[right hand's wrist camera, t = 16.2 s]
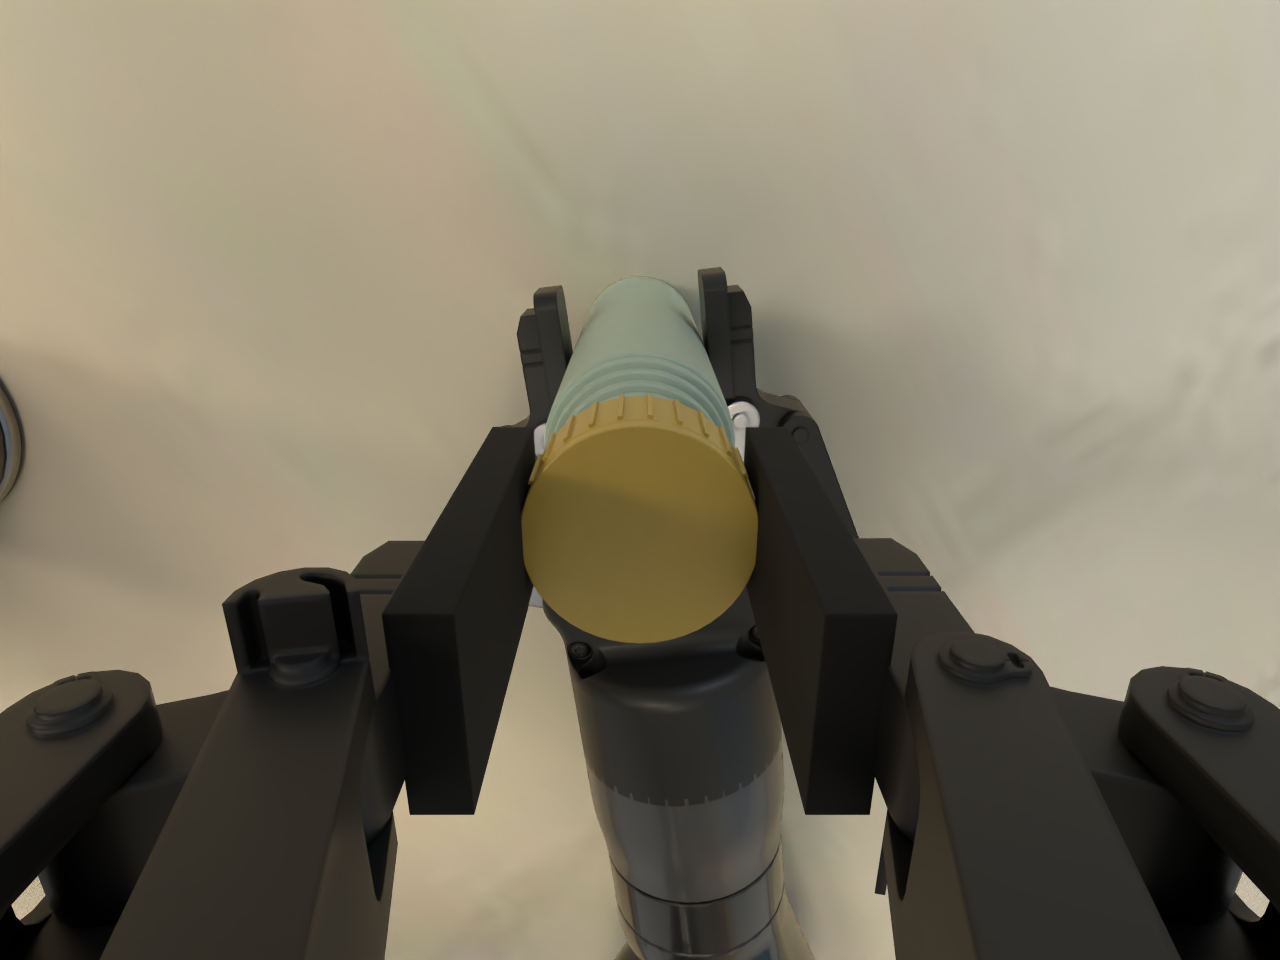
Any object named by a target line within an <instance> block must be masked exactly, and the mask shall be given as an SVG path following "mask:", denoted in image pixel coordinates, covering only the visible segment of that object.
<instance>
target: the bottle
mask: <svg viewBox="0 0 1280 960" xmlns="http://www.w3.org/2000/svg"><path fill="white" fill-rule="evenodd" d="M648 393H649V394H652V397H658V398H663V399H668V400H671V401H674V399H678V400H679V402H680V403H681V404H683V405H685V406H687V407H690V408H692V409H694V410H696V411H697V412H699V410H701V411H703V412H704V415H705V417H706V418H708V419H709V420H710V421H711V422H712V423H714V424H715V425H716V426H717V427H718V428H720V427H722V428H723V429H724V431H725V434H726V437H727V438H728V440H729V441H730V443H731V444H732V446H733V447H734V448H735V434H734V427H733V422H732V418H731V415H730V412H729V409H728V407H727V404H726V401H725V399H724V396H723V394H722V391H721V389H720V386H719V383H718V381H717V378H716V376H715V373H714V371H713V368H712V365H711V363H710V360H709V358H708V355H707V353H706V350H705V347H704V345H703V342H702V340H701V337H700V335H699V332H698V329H697V327H696V324H695V322H694V319H693V317H692V314H691V311H690V309H689V307H688V305H687V303H686V302H685V300H684V299H683V297H682V296H681V295H680V294H679V293H678V292H677V291H676V290H675V289H674V288H672V287H671V286H670V285H668V284H666V283H664V282H663V281H660V280H657V279H655V278H650V277H642V276H639V277H630V278H625V279H622V280H619V281H617V282H615V283H613V284H611V285H610V286H608V287H607V288H606V289H605V290H604V291H602V292H601V293H600V295H599V296H598V297H597V298H596V300H595V301H594V303H593V304H592V306H591V308H590V310H589V313H588V316H587V318H586V321H585V323H584V326H583V328H582V331H581V334H580V336H579V339H578V341H577V344H576V346H575V349H574V352H573V354H572V357H571V359H570V362H569V364H568V367H567V369H566V372H565V375H564V377H563V380H562V382H561V385H560V387H559V390H558V393H557V395H556V398H555V400H554V403H553V405H552V408H551V411H550V414H549V417H548V420H547V425H546V430H545V448H546V447H547V444H548V441H549V438H550V435H551V434H552V433H553V432H554V433H555V434H556V433H557V432H558V431H559V430H560V428H561V427H563V426H564V425H565V424H566V423H567V422H568V420H569V417H570V416H571V415H572V414H573V415H574V416H576V415H578V414H579V413H581V412H582V411H584V410H586V409H588V408H590V407H592V405H593V403H594V402H596V401H597V402H598V404H599V403H602V402H605V401H608V400H611V399H616V398H619V395H622V394H624V397H630V396H647V394H648Z"/></svg>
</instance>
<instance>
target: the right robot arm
mask: <svg viewBox="0 0 1280 960" xmlns="http://www.w3.org/2000/svg"><path fill="white" fill-rule="evenodd" d="M535 462H536V460H535V441H534V427H493V428H492V429H491V431H490V433H489V434H488V436H487V438H486V439H485V441H484V443H483V444H482V446H481V448H480V450H479V451H478V453H477V455H476V456H475V458H474V460H473V461H472V463H471V465H470V466H469V468H468V470H467V471H466V473H465V475H464V476H463V478H462V480H461V482H460V483H459V485H458V487H457V488H456V490H455V492H454V493H453V495H452V497H451V498H450V500H449V502H448V503H447V505H446V507H445V508H444V510H443V512H442V514H441V515H440V517H439V519H438V520H437V522H436V524H435V525H434V527H433V529H432V530H431V532H430V534H429V535H428V537H427V539H426V540H425V541H388V542H386V543H385V544H383V545H381V546H380V547H378V548H377V549H375V550H373V551H372V552H370V553H369V554H367V555H365V556H364V557H363V558H362V559H361V561H360V562H359V563H358V565H357V566H356V568H355V569H354V570H353V572H352V573H351V574H349V573H347V572H345V571H341V570H336V569H332V568H300V569H294V570H288V571H282V572H277V573H274V574H271V575H268V576H265V577H262V578H259V579H256V580H254V581H252V582H250V583H248V584H247V585H245V586H243V587H241V588H239V589H238V590H236V591H234V592H233V593H232V594H231V595H230V596H229V597H228V598H227V599H226V600H225V601H224V602H223V603H222V606H223V610H224V615H225V619H226V624H227V628H228V632H229V637H230V641H231V645H232V650H233V654H234V659H235V663H236V667H237V672H238V673H237V675H236V677H235V679H234V681H233V683H232V686H231V688H230V690H227V691H223V692H220V693H216V694H212V695H207V696H201V697H196V698H191V699H186V700H181V701H175V702H170V703H165V704H160V705H156V703H155V700H154V696H153V692H152V689H151V685H150V682H149V681H147V680H146V679H145V678H144V677H142V676H141V675H140V674H139V673H133V672H128V671H122V670H111V671H100V672H87V673H82V674H78V676H74V675H73V676H70V677H66V678H63V679H60V680H58V681H56V682H54V683H53V684H51V685H49V686H46V687H44V688H42V689H39V690H37V691H34V692H32V693H31V694H29V695H27V696H26V697H24V698H23V699H21V700H20V701H18V702H16V703H15V704H13V705H12V706H10V707H9V708H7V709H6V710H4V711H3V712H2V713H1V714H0V960H384V958H385V949H386V940H387V932H388V923H389V914H390V906H391V897H392V889H393V880H394V871H395V863H396V854H397V845H398V842H397V836H396V829H395V823H394V816H393V808H394V806H395V803H396V801H397V798H398V795H399V793H400V790H401V788H402V785H403V783H404V780H405V783H406V790H407V797H408V804H409V812H410V815H474V813H475V809H476V805H477V802H478V798H479V794H480V790H481V786H482V782H483V778H484V775H485V771H486V767H487V763H488V759H489V755H490V752H491V748H492V744H493V740H494V736H495V732H496V729H497V725H498V721H499V717H500V713H501V709H502V706H503V702H504V698H505V694H506V690H507V686H508V683H509V679H510V675H511V671H512V667H513V663H514V659H515V656H516V652H517V648H518V644H519V640H520V636H521V633H522V629H523V625H524V621H525V617H526V613H527V610H528V606H529V602H530V598H531V594H532V590H533V587H534V585H533V584H532V582H531V580H530V578H529V575H528V573H527V571H526V569H525V566H524V557H523V541H522V524H521V513H522V509H523V506H524V503H525V499H526V497H527V494H528V491H529V488H530V485H529V484H528V481H529V478H530V475H531V473H532V470H533V467H534V465H535ZM744 466H745V468H746V471H747V474H748V479H749V482H750V485H751V488H752V490H753V493H754V496H755V504H756V508H757V511H758V532H757V549H756V563H755V568H754V570H753V572H752V574H751V577H750V579H749V581H748V583H747V584H746V588H747V592H748V596H749V600H750V604H751V608H752V611H753V615H754V619H755V623H756V627H757V631H758V634H759V638H760V642H761V646H762V650H763V654H764V658H765V661H766V665H767V669H768V673H769V677H770V681H771V684H772V688H773V692H774V696H775V700H776V704H777V707H778V711H779V715H780V719H781V723H782V727H783V730H784V734H785V738H786V742H787V746H788V750H789V754H790V757H791V761H792V765H793V769H794V773H795V777H796V780H797V784H798V788H799V792H800V796H801V800H802V803H803V807H804V811H805V815H870V808H871V801H872V794H873V787H874V780H875V778H876V780H877V783H878V785H879V788H880V790H881V793H882V795H883V798H884V800H885V803H886V806H887V808H888V809H887V816H886V823H885V829H884V836H883V842H882V849H881V855H880V862H879V869H878V875H877V882H876V888H875V893H876V894H882V895H885V892H886V886H887V887H888V895H889V904H890V913H891V921H892V930H893V938H894V947H895V956H896V960H1280V709H1278V708H1277V707H1276V706H1275V705H1273V704H1272V703H1270V702H1269V701H1267V700H1265V699H1264V698H1262V697H1261V696H1259V695H1257V694H1256V693H1254V692H1253V691H1251V690H1250V689H1248V688H1245V687H1243V686H1241V685H1238V684H1236V683H1234V682H1231V681H1229V680H1227V679H1226V678H1224V677H1222V676H1220V675H1216V674H1213V673H1210V672H1206V673H1204V672H1203V671H1202V670H1197V669H1191V668H1176V667H1164V666H1161V667H1155V668H1149V669H1144V670H1141V671H1140V672H1138V673H1137V674H1136V675H1135V676H1133V677H1132V678H1131V679H1130V683H1129V687H1128V690H1127V694H1126V697H1125V701H1124V702H1122V701H1117V700H1112V699H1107V698H1101V697H1096V696H1091V695H1086V694H1080V693H1075V692H1070V691H1066V690H1062V689H1058V688H1054V687H1050V686H1049V684H1048V682H1047V680H1046V678H1045V676H1044V674H1043V672H1042V671H1041V669H1040V668H1039V667H1038V666H1037V664H1036V663H1035V662H1034V661H1033V660H1032V658H1031V657H1029V656H1028V655H1026V654H1025V653H1023V652H1022V651H1020V650H1019V649H1017V648H1016V647H1014V646H1013V645H1010V644H1008V643H1005V642H1003V641H1000V640H998V639H995V638H993V637H990V636H986V635H981V634H976V633H974V631H973V630H972V629H971V627H970V626H969V625H968V623H967V622H966V621H965V619H964V618H963V617H962V615H961V614H960V612H959V611H958V610H957V608H956V607H955V606H954V604H953V603H952V602H951V600H950V599H949V598H948V596H947V595H946V594H945V592H944V591H941V587H940V585H939V584H938V583H937V581H936V580H935V579H934V577H933V576H930V572H929V571H928V569H927V568H926V566H925V565H924V564H923V562H922V561H921V560H920V558H919V557H918V556H917V554H915V553H914V552H912V551H911V550H909V549H907V548H906V547H904V546H902V545H901V544H899V543H898V542H896V541H894V540H893V539H891V538H852V536H851V535H850V533H849V531H848V530H847V528H846V526H845V525H844V523H843V521H842V519H841V518H840V516H839V514H838V513H837V511H836V509H835V508H834V506H833V504H832V503H831V501H830V499H829V498H828V496H827V494H826V493H825V491H824V489H823V487H822V486H821V484H820V482H819V481H818V479H817V477H816V476H815V474H814V472H813V471H812V469H811V467H810V466H809V464H808V462H807V460H806V459H805V457H804V455H803V454H802V452H801V450H800V449H799V447H798V445H797V444H796V442H795V440H794V439H793V437H792V435H791V434H790V432H789V430H788V428H787V427H746V431H745V450H744ZM1242 872H1244V873H1245V874H1246V875H1247V876H1248V878H1249V879H1250V880H1251V881H1252V882H1253V883H1254V884H1255V885H1256V886H1257V887H1258V888H1259V889H1260V891H1261V892H1262V893H1263V894H1264V895H1265V896H1266V897H1267V898H1268V899H1269V900H1270V902H1269V904H1268V907H1267V909H1266V911H1265V914H1264V915H1263V916H1262V917H1259V916H1257V915H1256V914H1255V913H1254V912H1253V911H1252V910H1251V909H1249V908H1248V907H1247V906H1246V904H1245V903H1244V902H1243V901H1242V900H1241V899H1240V898H1239V897H1238V895H1237V894H1236V893H1235V890H1236V888H1237V885H1238V883H1239V880H1240V877H1241V875H1242ZM37 876H38V877H39V879H40V882H41V884H42V887H43V890H44V892H45V895H46V896H45V897H44V898H43V899H42V900H41V902H40V903H39V904H38V905H37V906H36V907H35V908H34V910H33V911H31V912H30V913H29V914H28V915H26V916H25V917H24V918H23V919H21V920H19V919H18V918H17V917H16V916H15V913H14V911H13V908H12V906H11V904H12V903H13V902H14V901H15V900H16V899H17V898H18V897H19V896H20V895H21V894H22V892H23V891H24V890H25V889H26V888H27V887H28V886H29V885H30V884H31V883H32V882H33V880H34V879H35V878H36V877H37Z"/></svg>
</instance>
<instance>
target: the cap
mask: <svg viewBox="0 0 1280 960" xmlns="http://www.w3.org/2000/svg"><path fill="white" fill-rule="evenodd" d="M528 484H529V485H530V488H529V491H528V494H527V497H526V499H525V503H524V506H523V509H522V513H521V524H522V541H523V557H524V566H525V569H526V571H527V573H528V575H529V578H530V580H531V582H532V584H533V585H534V587H535V588H536V590H537V592H538V593H539V595H540V596H541V597H542V598H543V599H544V601H545V602H546V603H547V604H548V605H549V606H550V607H551V608H552V609H553V610H554V611H555V612H556V613H557V614H558V615H559V616H561V617H562V618H564V619H565V620H566V621H568V622H569V623H570V624H572V625H574V626H576V627H578V628H579V629H581V630H583V631H585V632H588V633H590V634H593V635H595V636H598V637H601V638H605V639H608V640H613V641H619V642H625V643H655V642H661V641H667V640H671V639H675V638H678V637H682V636H685V635H687V634H689V633H692V632H694V631H696V630H698V629H700V628H702V627H704V626H705V625H707V624H709V623H711V622H712V621H713V620H715V619H716V618H717V617H719V616H720V615H721V614H722V613H724V612H725V611H726V610H727V609H728V608H729V607H730V606H731V605H732V604H733V603H734V601H735V600H736V599H737V598H738V596H739V595H740V594H741V593H742V591H743V589H744V588H745V586H746V584H747V583H748V581H749V579H750V577H751V574H752V572H753V570H754V568H755V563H756V549H757V532H758V511H757V508H756V504H755V496H754V493H753V490H752V488H751V485H750V482H749V479H748V474H747V471H746V468H745V466H744V463H743V460H742V457H741V455H740V452H739V450H738V448H737V447H736V448H734V447H733V446H732V444H731V443H730V441H729V440H728V438H727V437H726V434H725V431H724V429H723V428H722V427H720V428H718V427H717V426H716V425H715V424H714V423H712V422H711V421H710V420H709V419H708V418H706V417H705V415H704V412H703V411H701V410H699V412H697V411H696V410H694V409H692V408H690V407H687V406H685V405H683V404H681V403H680V402H679V400H678V399H674V401H671V400H668V399H663V398H658V397H652V394H649V393H648V394H647V396H630V397H624V394H622V395H619V398H616V399H611V400H608V401H605V402H602V403H599V404H598V402H597V401H596V402H594V403H593V405H592V407H590V408H588V409H586V410H584V411H582V412H581V413H579V414H578V415H576V416H574V415H573V414H572V415H571V416H570V417H569V420H568V422H567V423H566V424H565V425H564V426H563V427H561V428H560V430H559V431H558V432H557V433H556V434H555V433H554V432H553V433H552V434H551V435H550V438H549V441H548V444H547V447H546V448H545V450H544V452H543V454H542V455H541V454H538V457H537V459H536V462H535V465H534V467H533V470H532V473H531V475H530V478H529V481H528Z"/></svg>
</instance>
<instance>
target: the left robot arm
mask: <svg viewBox="0 0 1280 960" xmlns="http://www.w3.org/2000/svg"><path fill="white" fill-rule="evenodd" d="M698 284H699V296H700V308H701V320H702V332H703V343H704V347H705V350H706V353H707V355H708V358H709V360H710V363H711V365H712V368H713V371H714V373H715V376H716V378H717V381H718V383H719V386H720V389H721V391H722V394H723V396H724V399H725V401H726V404H727V407H728V409H729V412H730V415H731V418H732V422H733V427H734V434H735V448H736V447H737V448H738V450H739V452H740V455H741V457H742V460H743V463H744V450H745V431H746V427H787V428H788V430H789V432H790V434H791V435H792V437H793V439H794V440H795V442H796V444H797V445H798V447H799V449H800V450H801V452H802V454H803V455H804V457H805V459H806V460H807V462H808V464H809V466H810V467H811V469H812V471H813V472H814V474H815V476H816V477H817V479H818V481H819V482H820V484H821V486H822V487H823V489H824V491H825V493H826V494H827V496H828V498H829V499H830V501H831V503H832V504H833V506H834V508H835V509H836V511H837V513H838V514H839V516H840V518H841V519H842V521H843V523H844V525H845V526H846V528H847V530H848V531H849V533H850V535H851V536H852V538H859V537H858V535H857V532H856V529H855V526H854V524H853V521H852V518H851V515H850V513H849V510H848V507H847V505H846V502H845V499H844V496H843V494H842V491H841V488H840V485H839V483H838V480H837V477H836V474H835V472H834V469H833V466H832V463H831V461H830V458H829V455H828V452H827V450H826V447H825V444H824V441H823V439H822V436H821V433H820V431H819V428H818V426H817V424H816V422H815V421H814V420H813V418H812V417H811V415H810V414H809V413H808V411H807V410H806V408H805V407H804V406H803V404H802V403H801V402H800V400H798V399H797V398H796V397H793V396H790V395H785V396H781V397H780V396H776V395H772V394H767V393H764V392H762V391H760V390H759V389H757V388H756V379H755V363H754V346H753V330H752V313H751V306H750V304H749V302H748V300H747V298H746V296H745V293H744V291H743V290H742V289H741V288H740V287H739V286H738V285H732V286H727V281H726V275H725V272H724V271H723V270H722V268H721V267H718V268H709V269H701V270H698ZM517 338H518V343H519V349H520V353H521V361H522V365H523V372H524V378H525V383H526V389H527V395H528V401H529V406H530V416H529V417H528V418H526V419H525V420H523V421H521V422H519V423H517V424H515V425H513V426H510V425H507V426H502V427H534V441H535V460H536V459H537V457H538V454H541V455H542V454H543V452H544V450H545V430H546V425H547V420H548V417H549V414H550V411H551V408H552V405H553V403H554V400H555V398H556V395H557V393H558V390H559V387H560V385H561V382H562V380H563V377H564V375H565V372H566V369H567V367H568V364H569V362H570V359H571V357H572V354H573V350H572V344H571V337H570V330H569V324H568V317H567V310H566V304H565V297H564V292H563V288H562V286H552V287H544V288H539V289H538V290H537V291H536V292H535V293H534V308H532V309H527V310H526V311H525V312H524V313H523V314H522V315H521V317H520V321H519V326H518V331H517ZM20 459H21V442H20V434H19V429H18V425H17V421H16V418H15V415H14V412H13V410H12V407H11V405H10V403H9V401H8V399H7V397H6V395H5V393H4V391H3V390H2V388H1V386H0V502H1V501H2V500H3V498H4V497H5V496H6V495H7V494H8V492H9V491H10V489H11V487H12V486H13V484H14V481H15V479H16V477H17V473H18V470H19V465H20ZM529 606H534V607H541V608H543V609H544V612H545V615H546V617H547V618H548V620H549V621H550V622H551V623H552V624H553V625H554V626H555V628H556V629H557V630H558V631H559V633H560V635H561V636H562V638H563V641H564V644H565V648H566V653H567V659H568V664H569V670H570V675H571V681H572V686H573V692H574V697H575V703H576V709H577V714H578V720H579V726H580V732H581V738H582V743H583V749H584V755H585V760H586V766H587V772H588V777H589V783H590V788H591V794H592V799H593V804H594V808H595V812H596V815H597V818H598V821H599V824H600V827H601V830H602V832H603V835H604V838H605V840H606V844H607V848H608V851H609V857H610V863H611V868H612V874H613V880H614V886H615V892H616V900H617V906H618V911H619V916H620V920H621V924H622V927H623V930H624V933H625V936H626V939H627V942H626V943H625V944H624V945H623V947H622V948H621V950H620V951H619V953H618V954H617V956H616V958H615V960H815V959H814V956H813V954H812V952H811V950H810V948H809V946H808V943H807V941H806V939H805V937H804V935H803V933H802V931H801V928H800V926H799V924H798V922H797V919H796V917H795V915H794V912H793V909H792V907H791V905H790V902H789V900H788V897H787V895H786V893H785V888H784V873H783V857H782V841H781V815H782V808H783V799H784V767H783V751H782V734H781V719H780V715H779V711H778V707H777V704H776V700H775V696H774V692H773V688H772V684H771V681H770V677H769V673H768V669H767V665H766V661H765V658H764V654H763V650H762V646H761V642H760V638H759V634H758V631H757V627H756V623H755V619H754V615H753V611H752V608H751V604H750V600H749V596H748V592H747V588H746V586H745V588H744V589H743V591H742V593H741V594H740V595H739V596H738V598H737V599H736V600H735V601H734V603H733V604H732V605H731V606H730V607H729V608H728V609H727V610H726V611H725V612H724V613H722V614H721V615H720V616H719V617H717V618H716V619H715V620H713V621H712V622H711V623H709V624H707V625H705V626H704V627H702V628H700V629H698V630H696V631H694V632H692V633H689V634H687V635H685V636H682V637H678V638H675V639H671V640H667V641H661V642H655V643H625V642H619V641H613V640H608V639H605V638H601V637H598V636H595V635H593V634H590V633H588V632H585V631H583V630H581V629H579V628H578V627H576V626H574V625H572V624H570V623H569V622H568V621H566V620H565V619H564V618H562V617H561V616H559V615H558V614H557V613H556V612H555V611H554V610H553V609H552V608H551V607H550V606H549V605H548V604H547V603H546V602H545V601H544V599H543V598H542V597H541V596H540V595H539V593H538V592H537V590H536V588H535V587H533V590H532V594H531V598H530V602H529Z"/></svg>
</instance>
